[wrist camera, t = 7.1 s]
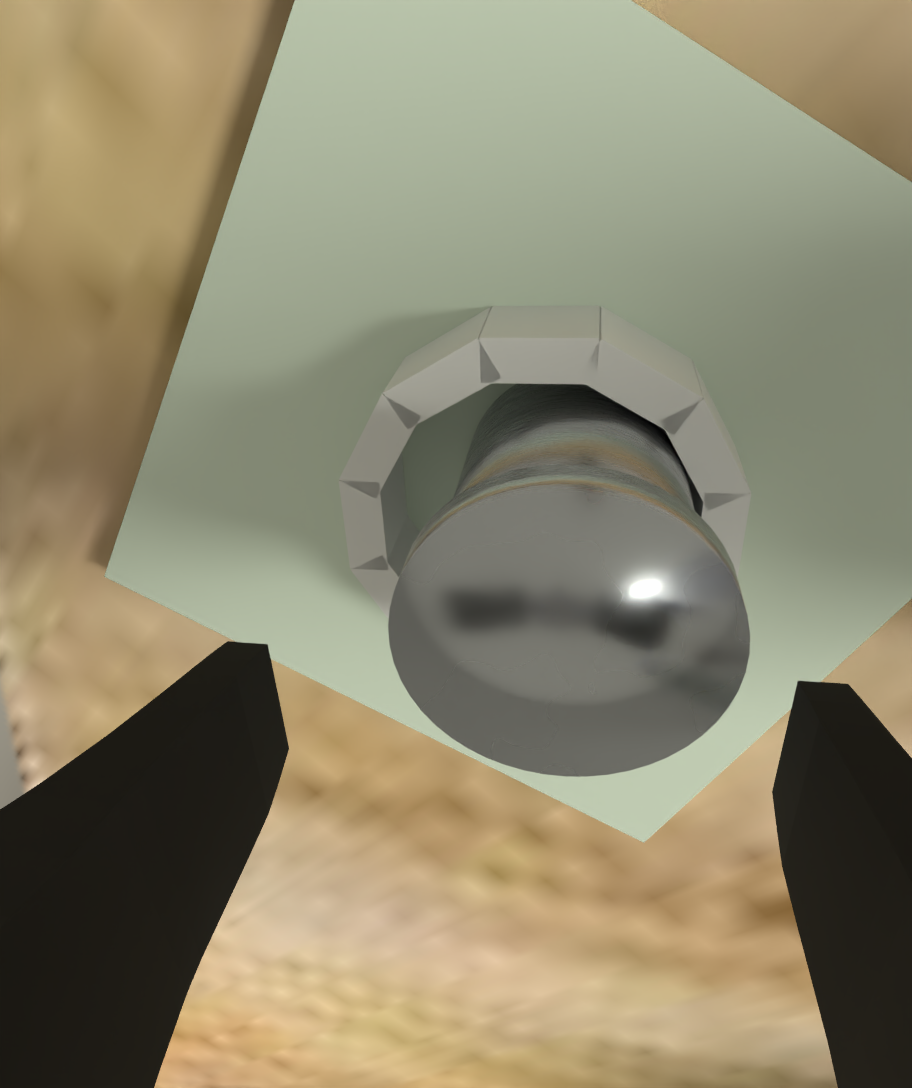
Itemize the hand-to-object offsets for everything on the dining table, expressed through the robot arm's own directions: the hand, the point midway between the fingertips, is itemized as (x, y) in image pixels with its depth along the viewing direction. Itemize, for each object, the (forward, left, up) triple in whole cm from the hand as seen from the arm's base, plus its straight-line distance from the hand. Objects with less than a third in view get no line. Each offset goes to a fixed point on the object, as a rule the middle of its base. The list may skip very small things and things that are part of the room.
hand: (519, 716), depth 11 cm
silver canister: (0, -1, -7) cm, 7 cm away
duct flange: (0, 0, -8) cm, 8 cm away
